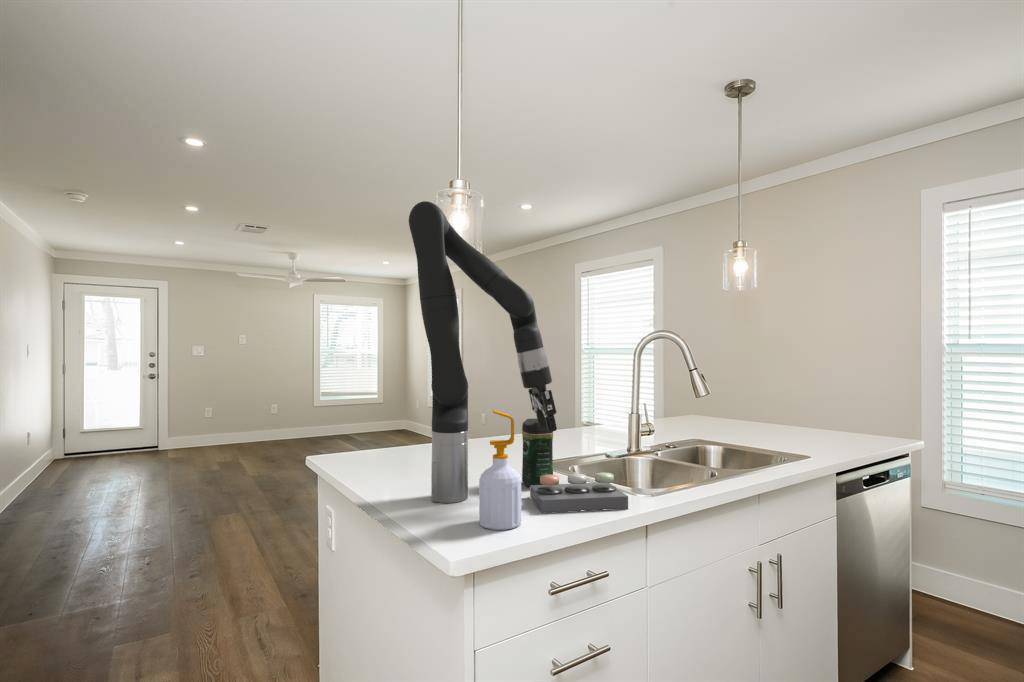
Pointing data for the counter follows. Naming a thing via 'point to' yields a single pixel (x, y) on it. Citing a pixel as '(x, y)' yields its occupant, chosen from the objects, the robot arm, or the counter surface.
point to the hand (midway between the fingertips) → (547, 428)
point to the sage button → (604, 477)
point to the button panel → (577, 497)
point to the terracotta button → (549, 480)
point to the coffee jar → (536, 452)
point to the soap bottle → (500, 489)
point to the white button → (577, 478)
